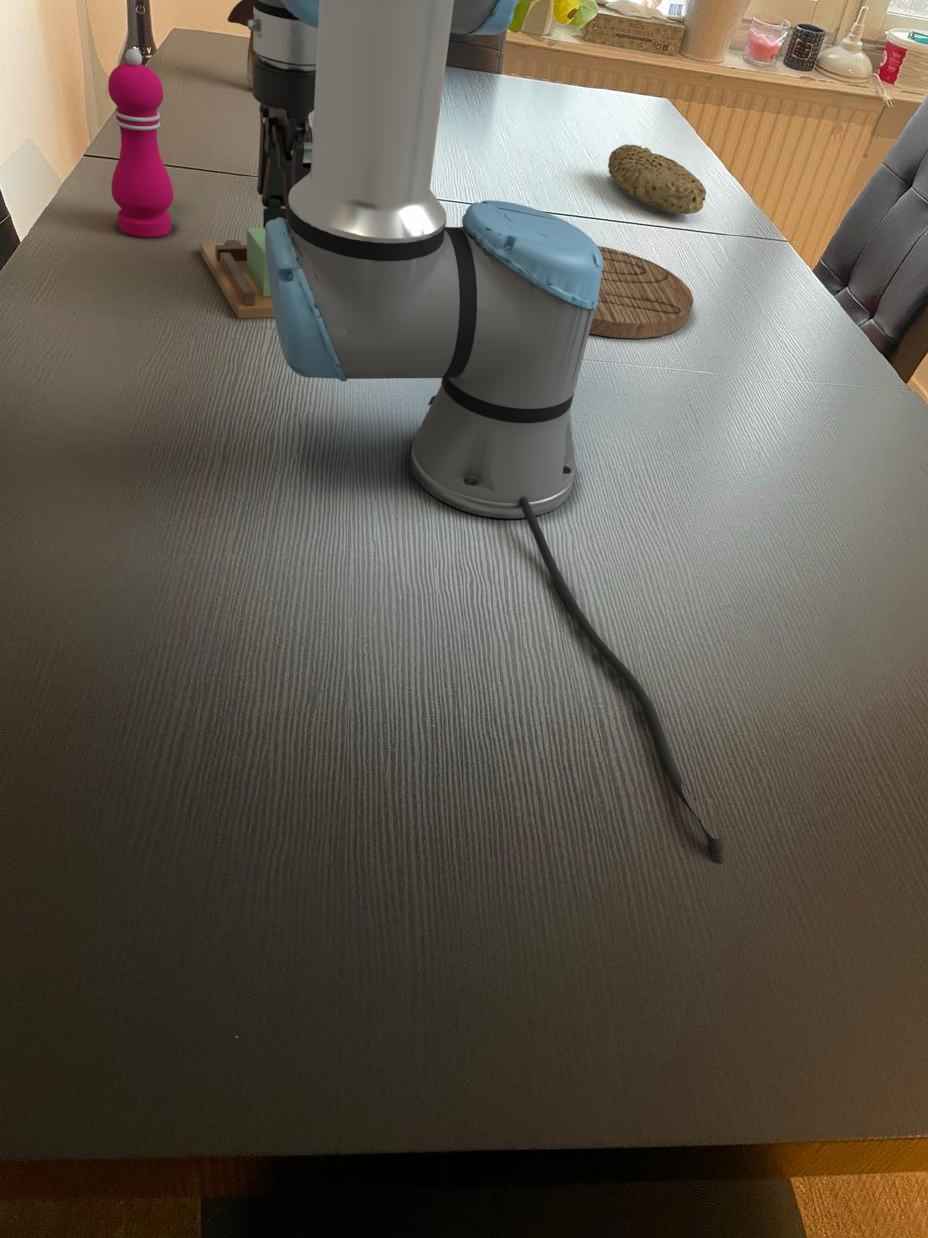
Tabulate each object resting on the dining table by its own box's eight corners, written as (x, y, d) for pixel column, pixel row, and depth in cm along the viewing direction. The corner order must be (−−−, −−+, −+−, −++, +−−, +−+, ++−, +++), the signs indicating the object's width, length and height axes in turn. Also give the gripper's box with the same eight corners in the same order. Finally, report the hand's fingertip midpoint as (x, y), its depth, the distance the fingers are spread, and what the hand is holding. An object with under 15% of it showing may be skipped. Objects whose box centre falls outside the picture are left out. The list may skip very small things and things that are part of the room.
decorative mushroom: (216, 83, 176) (214, -15, 167) (268, 80, 183) (269, -14, 173) (251, 101, 171) (251, 1, 161) (303, 98, 177) (306, 1, 168)
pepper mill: (160, 244, 120) (149, 61, 107) (103, 231, 121) (86, 47, 108) (184, 225, 126) (177, 49, 113) (130, 213, 126) (117, 36, 113)
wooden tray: (358, 312, 114) (360, 290, 112) (238, 318, 108) (238, 295, 107) (311, 250, 126) (311, 229, 124) (200, 253, 120) (199, 230, 118)
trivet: (710, 347, 120) (715, 333, 119) (510, 325, 117) (512, 310, 115) (665, 267, 139) (669, 253, 138) (491, 245, 135) (493, 232, 134)
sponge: (594, 184, 167) (629, 199, 150) (610, 135, 164) (649, 145, 147) (662, 207, 171) (705, 225, 154) (680, 160, 167) (725, 172, 150)
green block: (322, 294, 113) (325, 251, 110) (263, 296, 111) (263, 252, 107) (304, 269, 118) (306, 227, 115) (246, 271, 115) (246, 227, 112)
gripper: (228, 30, 104) (230, 245, 119) (283, 88, 91) (277, 321, 106) (297, 35, 107) (290, 243, 122) (359, 91, 94) (343, 317, 109)
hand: (284, 279), depth 114 cm, fingers open, 7 cm apart
